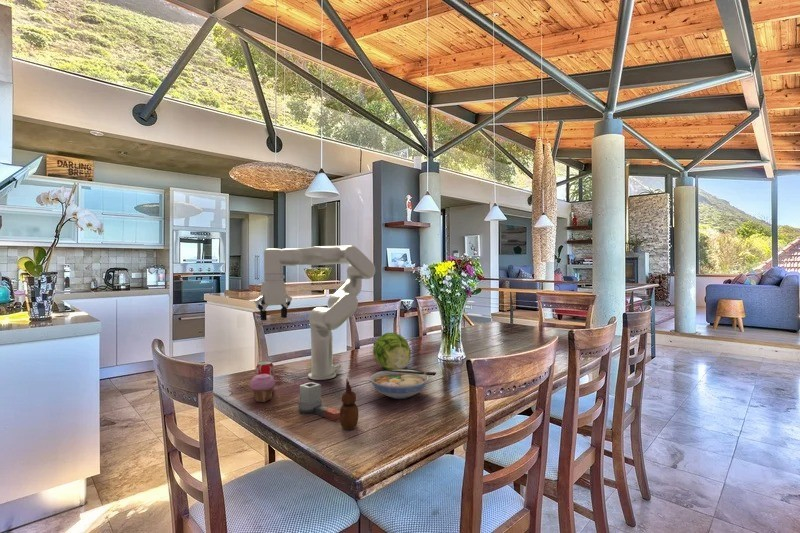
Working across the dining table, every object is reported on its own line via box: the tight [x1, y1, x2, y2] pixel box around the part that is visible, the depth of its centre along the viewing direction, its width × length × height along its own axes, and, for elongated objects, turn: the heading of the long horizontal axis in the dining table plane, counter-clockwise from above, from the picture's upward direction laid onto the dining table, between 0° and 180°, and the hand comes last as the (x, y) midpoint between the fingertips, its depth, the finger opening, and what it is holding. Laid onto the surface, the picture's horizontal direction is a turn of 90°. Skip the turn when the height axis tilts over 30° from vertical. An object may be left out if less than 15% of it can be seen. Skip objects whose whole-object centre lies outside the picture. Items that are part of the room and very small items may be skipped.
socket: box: [299, 381, 322, 405], centre depth 144 cm, size 5×5×6 cm
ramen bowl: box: [369, 368, 437, 400], centre depth 158 cm, size 25×23×8 cm
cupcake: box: [249, 374, 276, 403], centre depth 154 cm, size 9×9×10 cm
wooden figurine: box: [339, 378, 359, 431], centre depth 129 cm, size 7×6×15 cm
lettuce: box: [373, 332, 412, 370], centre depth 197 cm, size 17×23×17 cm
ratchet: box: [298, 399, 340, 422], centre depth 141 cm, size 8×19×8 cm, turn 50°
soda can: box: [255, 360, 275, 392], centre depth 164 cm, size 7×7×12 cm
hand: (274, 318), depth 172 cm, fingers open, 9 cm apart
